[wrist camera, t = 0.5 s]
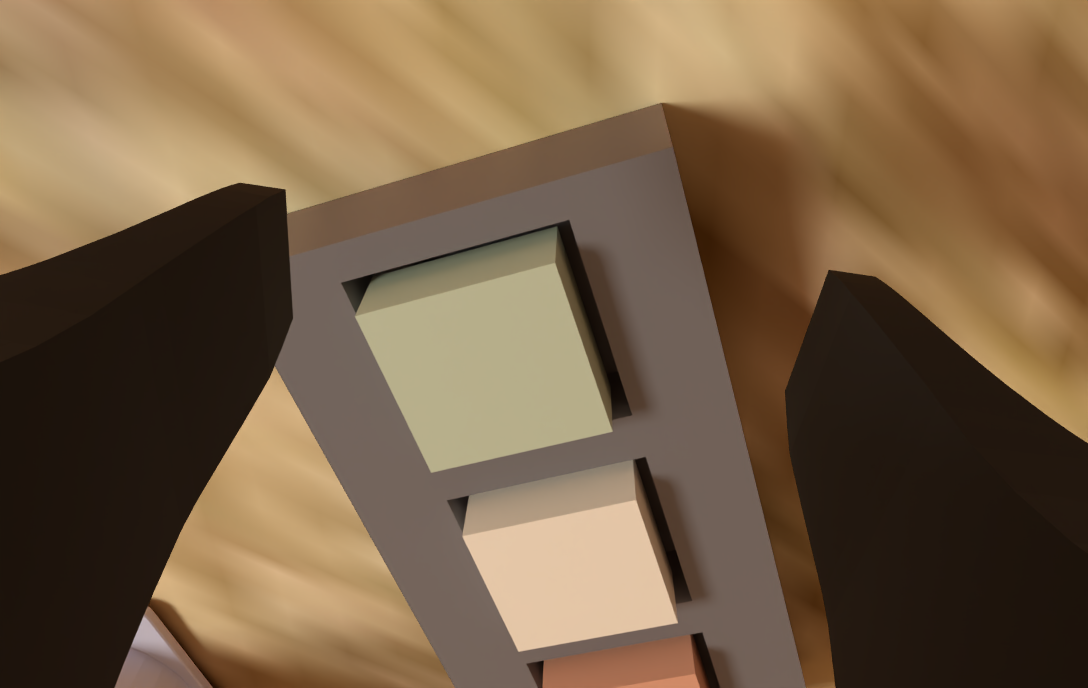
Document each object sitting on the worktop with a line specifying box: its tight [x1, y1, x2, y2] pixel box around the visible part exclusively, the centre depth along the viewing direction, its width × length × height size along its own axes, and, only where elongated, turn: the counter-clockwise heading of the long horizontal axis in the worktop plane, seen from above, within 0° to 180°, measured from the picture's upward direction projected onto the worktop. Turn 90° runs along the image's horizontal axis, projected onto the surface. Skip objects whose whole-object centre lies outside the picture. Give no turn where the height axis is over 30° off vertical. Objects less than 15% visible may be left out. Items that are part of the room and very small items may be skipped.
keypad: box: [275, 103, 806, 688], centre depth 24 cm, size 10×20×3 cm, turn 17°
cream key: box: [462, 459, 678, 652], centre depth 23 cm, size 4×4×2 cm
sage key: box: [355, 226, 613, 473], centre depth 20 cm, size 4×4×2 cm
